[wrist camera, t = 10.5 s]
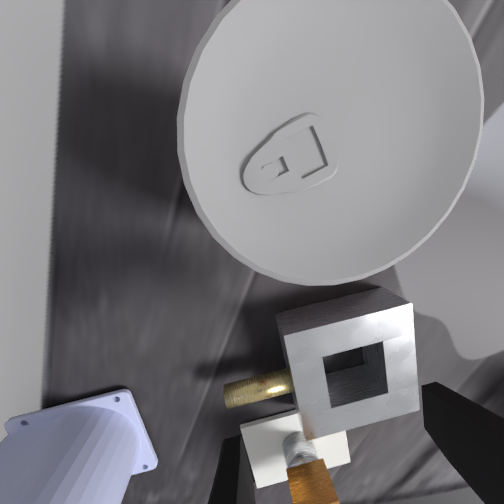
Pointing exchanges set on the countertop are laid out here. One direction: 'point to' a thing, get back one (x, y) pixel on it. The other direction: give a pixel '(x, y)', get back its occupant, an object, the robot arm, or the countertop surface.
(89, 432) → the robot arm
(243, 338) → the countertop surface
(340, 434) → the mat
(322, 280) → the canned food
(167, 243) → the countertop surface
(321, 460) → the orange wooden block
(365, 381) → the hollow block with rod
